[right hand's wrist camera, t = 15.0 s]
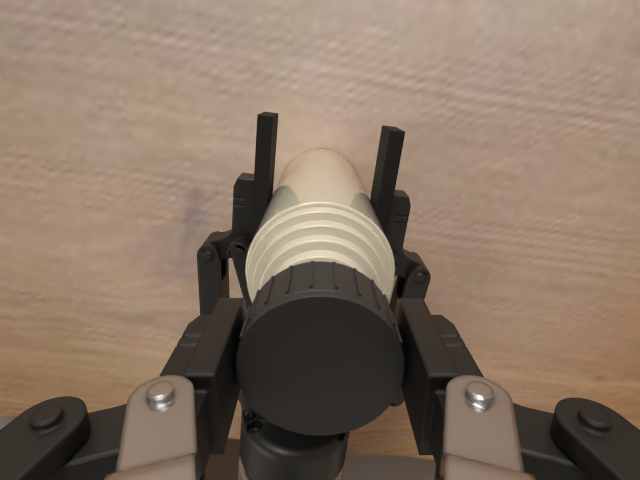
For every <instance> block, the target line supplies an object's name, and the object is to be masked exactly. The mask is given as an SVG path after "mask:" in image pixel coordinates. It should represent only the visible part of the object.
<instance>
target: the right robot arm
mask: <svg viewBox="0 0 640 480" xmlns="http://www.w3.org/2000/svg"><path fill="white" fill-rule="evenodd" d="M246 314H247V311H246V302H245V299H244V298H220V299H219V300H218V302H217V304H216V306H215V308H214V310H213V312H212V314H211V315H200V316H198V317H197V318H196V319H195V320H193V321H192V322H191V323H189V324H188V326H187V328H186V330H185V331H184V333H183V335H182V337H181V339H180V340H179V342H178V344H177V347H175V349H174V351H173V353H172V355H171V356H170V358H169V360H168V362H167V364H166V365H165V367H164V369H163V371H162V372H161V374H160V376H159V377H156V378H154V379H151V380H149V381H147V382H145V383H143V384H141V385H140V386H139V387H137V388H136V389H135V390H134V391H133V392H132V394H131V395H130V397H129V398H128V401H127V404H124V405H121V406H118V407H114V408H109V409H105V410H101V411H96V412H92V413H88V412H87V408H86V405H85V403H84V402H83V401H82V400H81V399H79V398H76V397H58V398H53V399H50V400H46V401H44V402H41V403H39V404H37V405H35V406H33V407H31V408H29V409H28V410H26V411H25V412H23V413H22V414H21V415H19V416H18V417H17V418H15V419H14V420H13V421H12V422H10V423H9V424H8V425H6V426H5V427H4V428H3V429H1V430H0V480H206V477H205V468H206V464H207V461H208V458H209V455H210V454H223V453H224V449H225V446H226V441H227V438H228V434H229V431H230V427H231V423H232V419H233V416H234V412H235V408H236V404H237V400H238V397H239V393H240V386H239V383H238V380H237V376H236V355H237V351H238V347H239V344H240V340H241V339H239V336H240V333H241V330H242V327H243V324H244V321H245V317H246ZM395 320H396V323H397V327H398V330H399V333H400V336H401V339H402V342H403V345H401V346H402V350H403V354H404V361H405V369H404V377H403V381H402V384H401V389H402V393H403V396H404V400H405V404H406V407H407V411H408V415H409V418H410V422H411V426H412V429H413V433H414V437H415V440H416V444H417V448H418V451H419V455H433V456H434V459H435V462H436V469H435V476H434V480H640V430H639V429H638V428H636V427H635V426H634V425H632V424H631V423H630V422H628V421H627V420H626V419H625V418H623V417H622V416H621V415H619V414H618V413H617V412H615V411H614V410H612V409H610V408H608V407H606V406H604V405H602V404H600V403H597V402H594V401H591V400H587V399H583V398H566V399H563V400H561V401H559V402H558V403H557V405H556V407H555V411H554V414H553V413H548V412H544V411H540V410H535V409H531V408H527V407H523V406H520V405H517V404H514V403H513V401H512V398H511V397H510V395H509V394H508V392H507V391H506V390H505V389H504V388H503V387H501V386H500V385H499V384H497V383H495V382H493V381H491V380H489V379H486V378H484V377H483V375H482V373H481V372H480V370H479V368H478V366H477V364H476V363H475V361H474V359H473V357H472V356H471V354H470V352H469V350H468V349H467V347H465V343H464V342H463V340H462V338H460V335H459V333H458V331H457V329H456V328H455V326H454V324H452V323H451V322H450V321H448V320H447V319H446V318H445V317H443V316H442V315H431V314H430V312H429V310H428V308H427V306H426V304H425V302H424V300H423V299H397V302H396V311H395Z"/></svg>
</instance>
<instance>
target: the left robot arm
mask: <svg viewBox="0 0 640 480" xmlns="http://www.w3.org/2000/svg"><path fill="white" fill-rule="evenodd" d="M277 126H278V113H270V112H263V113H261V114H258V118H257V136H256V154H255V172H254V174H249V173H242V174H241V175H240V176H239V177H238V179H237V181H236V183H235V185H234V192H233V218H232V229H231V230H229V231H225V232H218V231H217V232H213V233H211V234H210V235H209V237H208V238H207V239H206V241H205V242H204V243H203V245H202V246H201V247H200V249H199V250H198V252H197V264H198V282H199V299H200V315H211V314H212V312H213V310H214V308H215V306H216V304H217V302H218V300H219V299H220V298H229V264H228V258H232V259H233V262H234V266H235V269H236V273H237V276H238V280H239V283H240V287H241V290H242V294H243V297H244V299H245V302H246V308H247V311H248V308H249V306H252V301H251V299H250V296H249V292H248V288H247V282H246V274H245V266H246V258H247V253H248V250H249V247H250V245H251V242H252V240H253V238H254V236H255V233H256V231H257V229H258V227H259V225H260V222H261V220H262V218H263V216H264V213H265V211H266V209H267V207H268V204H269V202H270V200H271V198H272V195H273V181H274V167H275V153H276V139H277ZM404 135H405V132H404V131H402V130H400V129H398V128H396V127H390V126H382V130H381V136H380V143H379V149H378V155H377V161H376V168H375V174H374V180H373V186H372V192H371V199H370V202H371V204H372V206H373V208H374V211H375V213H376V215H377V217H378V220H379V222H380V224H381V226H382V228H383V231H384V233H385V235H386V237H387V240H388V242H389V244H390V247H391V249H392V252H393V257H394V263H395V276H396V275H397V279H396V283H395V286H394V290H393V294H392V298H391V302H390V308H391V312H393V314H394V317H395V311H396V302H397V299H423V300H424V299H425V295H426V292H427V288H428V285H429V282H430V273H429V271H428V270H427V268H426V266H425V264H424V263H423V261H422V259H421V258H420V256H419V255H418V254H417V253H414V252H408V251H406V250H404V249H403V242H404V237H405V232H406V227H407V222H408V216H409V212H410V207H411V206H410V201H409V197H408V195H407V194H406V193H405V192H404V191H401V190H395V185H396V179H397V174H398V168H399V163H400V157H401V152H402V146H403V141H404ZM238 400H239V401H240V403H241V406H242V418H241V436H240V458H239V471H238V480H341V478H342V470H343V464H344V460H345V454H346V449H347V443H348V437H349V432H350V431H348V432H345V433H340V434H334V435H305V434H300V433H295V432H292V431H289V430H286V429H283V428H281V427H279V426H276V425H275V424H273V423H271V422H269V421H268V420H266V419H265V418H264V417H262V416H261V415H260V414H259V413H258V412H257V411H255V410H254V409H253V407H252V406H251V405H250V404H249V403H248V401H247V400H246V398H245V396H244V395H243V393H242V391H241V389H240V393H239V397H238ZM403 401H404V396H403V393H402V389H401V387H400V389H399V392H398V394H397V395H396V397H395V399H394V400H393V402H392V403H391V404H390V406H399V405H401V404H402V403H403Z"/></svg>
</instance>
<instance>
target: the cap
mask: <svg viewBox="0 0 640 480" xmlns="http://www.w3.org/2000/svg"><path fill="white" fill-rule="evenodd" d="M239 339H241V340H240V344H239V347H238V351H237V355H236V376H237V380H238V383H239V386H240V389H241V391H242V393H243V395H244V396H245V398H246V400H247V401H248V403H249V404H250V405H251V406H252V407H253V409H254V410H255V411H257V412H258V413H259V414H260V415H261V416H262V417H264V418H265V419H266V420H268V421H269V422H271V423H273V424H275V425H276V426H279V427H281V428H283V429H286V430H289V431H292V432H295V433H300V434H305V435H334V434H340V433H345V432H348V431H351V430H354V429H357V428H359V427H362V426H364V425H366V424H367V423H369V422H371V421H372V420H374V419H375V418H377V417H378V416H379V415H381V414H382V413H383V412H384V411H385V410H386V409H387V408H388V407H389V405H390V404H391V403H392V402H393V400H394V399H395V397H396V395H397V394H398V392H399V389H400V387H401V384H402V381H403V377H404V369H405V361H404V354H403V350H402V346H401V345H403V342H402V339H401V336H400V333H399V330H398V327H397V323H396V320H395V317H394V314H393V312H391V308H390V305H389V302H388V299H387V296H386V294H384V295H383V293H382V291H381V290H380V289H379V288H378V286H377V285H376V284H375V282H374V280H373V279H372V280H371V279H370V278H368V277H367V276H366V275H364V274H363V273H361V272H359V271H357V269H356V268H351V267H348V266H346V265H343V264H338V263H336V262H334V261H333V262H325V261H311V262H307V263H302V264H298V265H294V266H292V265H291V266H289V268H287V269H285V270H283V271H281V272H279V273H278V274H276V275H275V276H273V275H272V276H271V278H270V280H269V281H267V282H266V283H265V284H264V285H263V287H262V288H261V289H260V290H259V289H258V290H257V292H256V296H255V299H254V301H253V303H252V306H249V308H248V311H247V314H246V317H245V321H244V324H243V327H242V330H241V333H240V336H239Z"/></svg>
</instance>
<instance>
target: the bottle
mask: <svg viewBox="0 0 640 480" xmlns="http://www.w3.org/2000/svg"><path fill="white" fill-rule="evenodd" d="M311 261H325V262H333V261H334V262H336V263H338V264H343V265H346V266H348V267H351V268H356V269H357V271H359V272H361V273H363V274H364V275H366V276H367V277H368V278H370V279H371V280H372V279H373V280H374V282H375V284H376V285H377V286H378V288H379V289H380V290H381V291H382V293H383V295H384V294H386V296H387V299H388V302H389V299H390V297H391V294H392V289H393V283H394V278H395V263H394V257H393V252H392V249H391V247H390V244H389V242H388V240H387V237H386V235H385V233H384V231H383V228H382V226H381V224H380V222H379V220H378V217H377V215H376V213H375V211H374V208H373V206H372V204H371V202H370V200H369V197H368V195H367V193H366V191H365V188H364V186H363V184H362V182H361V180H360V177H359V175H358V173H357V171H356V169H355V168H354V166H353V165H352V164H351V163H350V162H349V161H348V160H347V159H346V158H345V157H344V156H342V155H340V154H338V153H336V152H334V151H330V150H324V149H316V150H310V151H307V152H304V153H302V154H300V155H298V156H297V157H295V158H294V159H293V160H292V161H291V162H290V163H289V164H288V165H287V167H286V168H285V170H284V171H283V173H282V176H281V178H280V180H279V182H278V184H277V187H276V189H275V191H274V193H273V196H272V198H271V200H270V202H269V204H268V207H267V209H266V211H265V213H264V216H263V218H262V220H261V222H260V225H259V227H258V229H257V231H256V233H255V236H254V238H253V240H252V242H251V245H250V247H249V250H248V253H247V258H246V266H245V274H246V282H247V288H248V292H249V296H250V299H251V301H252V303H253V301H254V299H255V296H256V292H257V290H258V289H259V290H260V289H261V288H262V287H263V285H264V284H265V283H266V282H267V281H269V280H270V278H271V276H272V275H273V276H275V275H276V274H278V273H279V272H281V271H283V270H285V269H287V268H289V266H291V265H292V266H294V265H298V264H302V263H307V262H311Z"/></svg>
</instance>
